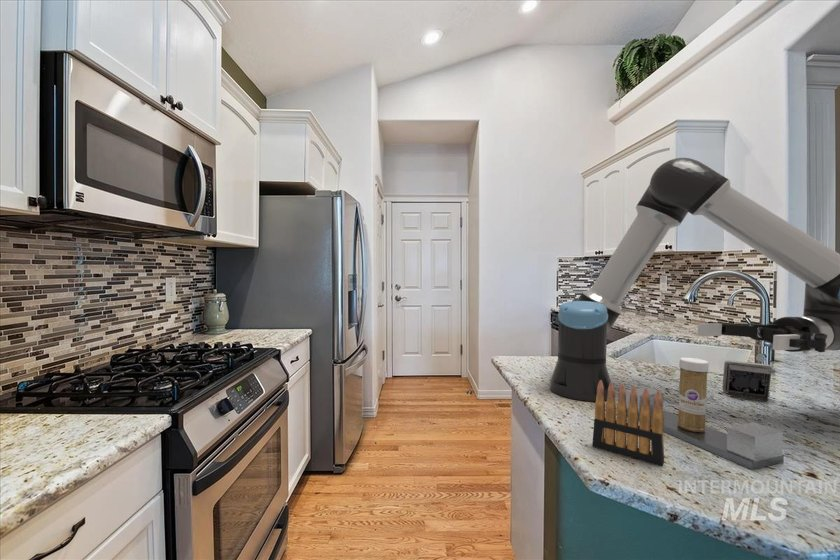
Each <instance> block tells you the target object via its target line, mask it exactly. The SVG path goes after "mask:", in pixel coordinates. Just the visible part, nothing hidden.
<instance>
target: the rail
mask: <svg viewBox="0 0 840 560" xmlns="http://www.w3.org/2000/svg"><path fill="white" fill-rule="evenodd" d="M645 388H647V390H648V392H649V398H650V413H651V427H652V414H653V409H654V400H655V395H656V393H657V391H658V389H653V388H650V387H640V388H639V387H638V388H636V391H637V398H638V411H639V422H640V410H641V404H642V395H643V392H644V389H645ZM631 389H632V388H631ZM631 389H625V391H626V406H627V417H628V408H629V402H630V393H631ZM660 393H661V396H662V404H663V406H662V408H663V417H664V430H663V433H666V434H668V435H670V436H672V437H674V438H677V439H680V440H682V441H684V442H686V443H689V444H691V445H694V446H696V447H698V448H701V449H703V450H705V451H707V452H710V453H711V454H714V455H717V456H719V457H722V458H723V459H726V460H728V461H730V462H733V463H735V464H738V465H740V466H742V467H745V468H747V469H749V470H757V469H760V468H765V467H770V466H774V465H777V464H781V463H784V459H785V458H784V456H785V454H783V435H784V434H783V433H784V432H783V431H781V430H778V429H776V428H772V427H769V426H767V425H763V424H760V423H758V422H749V423H744V424H738V425H732V426H727V432H722V431H720V430H717V429H714V428H713V427H710V426H707V425H705V428H706V430H705V431H704V432H693V431H689V430H686V429H683V428H681V427H680V426H678V425H677V422H678V414H674V413H672V412H669V411H666V410H664V402H665V401H664V397H665V393H664V392H662V391H660Z"/></svg>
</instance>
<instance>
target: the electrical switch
mask: <svg viewBox="0 0 840 560" xmlns="http://www.w3.org/2000/svg"><path fill="white" fill-rule="evenodd" d="M772 374H773V366H771V365H770V364H765V363H756V362H750V361H749V362H747V361H738V360H727V359H726V360H725V361H724V365H723V376H722V391H723V393H725V392H727V396H728V395H730V396H729V397H734V396H735V398H741V399H747V400H753V401H754V400H756V401H761V400H762V402H768V399H769V398H770V395H771V394H770V393H771V392H770V389H771V388H770V387H771V379H772V377H771V376H772Z"/></svg>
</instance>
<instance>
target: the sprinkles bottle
mask: <svg viewBox="0 0 840 560" xmlns="http://www.w3.org/2000/svg"><path fill="white" fill-rule="evenodd" d="M709 366H710V364H709V362H708V361H707V360H705V359H703V358H702V359H701V358H696V357H695V358H694V357H680V358H679V384H678V414H677V415H678V422H677V425H678V426H680V427H681V428H683V429H686V430H689V431H693V432H704V431H705V430H706V428H705V426H706V415H707V399H708V398H707V394H708V393H707V392H708V391H707V390H708V387H707V386H708V383H707V382H708V371H709Z"/></svg>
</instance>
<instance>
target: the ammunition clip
mask: <svg viewBox="0 0 840 560" xmlns="http://www.w3.org/2000/svg"><path fill="white" fill-rule="evenodd" d="M644 388H645V389H644V392H643V395H642V404H641V410H640V421H639V411H638V398H637V391H636V389H637V388H636V386H635V385H633V386H632V387H631V393H630V402H629V408H628V416H627V406H626V391H625V390H626V387H625V385H624V383H622V384H621V385H620V386H619V390H618V397H617V405H616V393H615V391H616V390H615V386H614V383H613V381H611V382H610V384H609V387H608V393H607V400H606V403H605V400H604V387H603V383H602V380H600V381H599V383H598V387H597V396H596V401H594V402H595V404H594V420H593V429H592V430H593V434H592V444H591V445H592V447H593V448H596V449H599V450H602V451H606V452H609V453H613V454H616V455H620V456H623V457H624V456H625V457H628V458H630V459H631V458H632V459H635V460H638V461H642V462H646V463H649V464H653V465H656V466H659V467H663V466H664V462H665V457H664V456H665V452H664V451H665V450H664V446H665V445H664V432H663V430H664V417H663V410H664V403H663V404H662V396H661V393H660V392H661V391H660V389H657V393H656V395H655V400H654V409H653V414H652V426H651V413H650V398H649V392H648V390H647V388H648V387H644ZM662 406H663V408H662Z"/></svg>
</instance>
